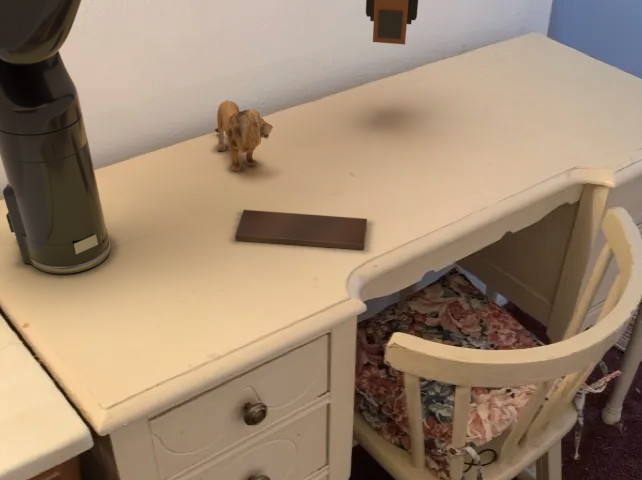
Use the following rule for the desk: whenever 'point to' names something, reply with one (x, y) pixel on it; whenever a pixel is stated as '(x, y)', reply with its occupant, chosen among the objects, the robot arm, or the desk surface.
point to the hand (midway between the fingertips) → (391, 20)
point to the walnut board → (302, 229)
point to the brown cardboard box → (390, 21)
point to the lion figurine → (240, 131)
